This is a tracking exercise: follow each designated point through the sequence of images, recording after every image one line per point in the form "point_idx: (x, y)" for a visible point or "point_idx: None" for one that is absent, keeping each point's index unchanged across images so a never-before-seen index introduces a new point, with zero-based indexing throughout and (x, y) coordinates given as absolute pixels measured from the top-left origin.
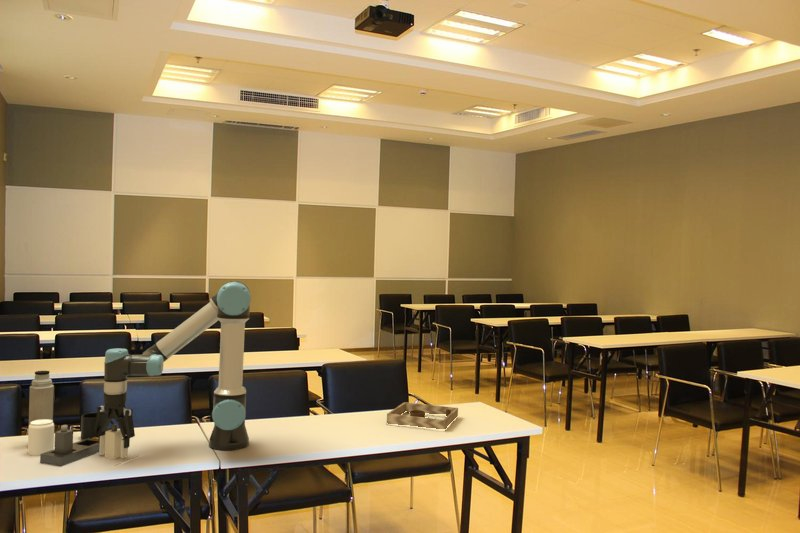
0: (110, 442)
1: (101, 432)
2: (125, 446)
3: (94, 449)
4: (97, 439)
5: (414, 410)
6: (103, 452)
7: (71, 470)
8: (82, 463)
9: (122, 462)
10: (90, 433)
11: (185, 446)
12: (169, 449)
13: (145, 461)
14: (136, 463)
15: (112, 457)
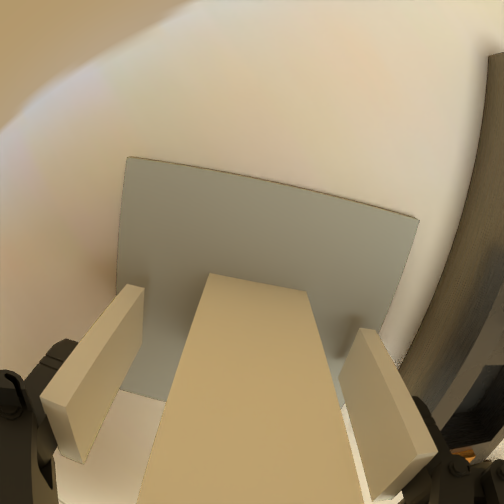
0: (245, 391)
1: (435, 497)
2: (64, 351)
3: (433, 371)
4: None
5: None
6: (351, 356)
7: (416, 25)
8: (433, 187)
9: (118, 247)
10: None
11: (69, 479)
12: (87, 463)
13: (34, 314)
14: (48, 270)
15: (221, 286)
